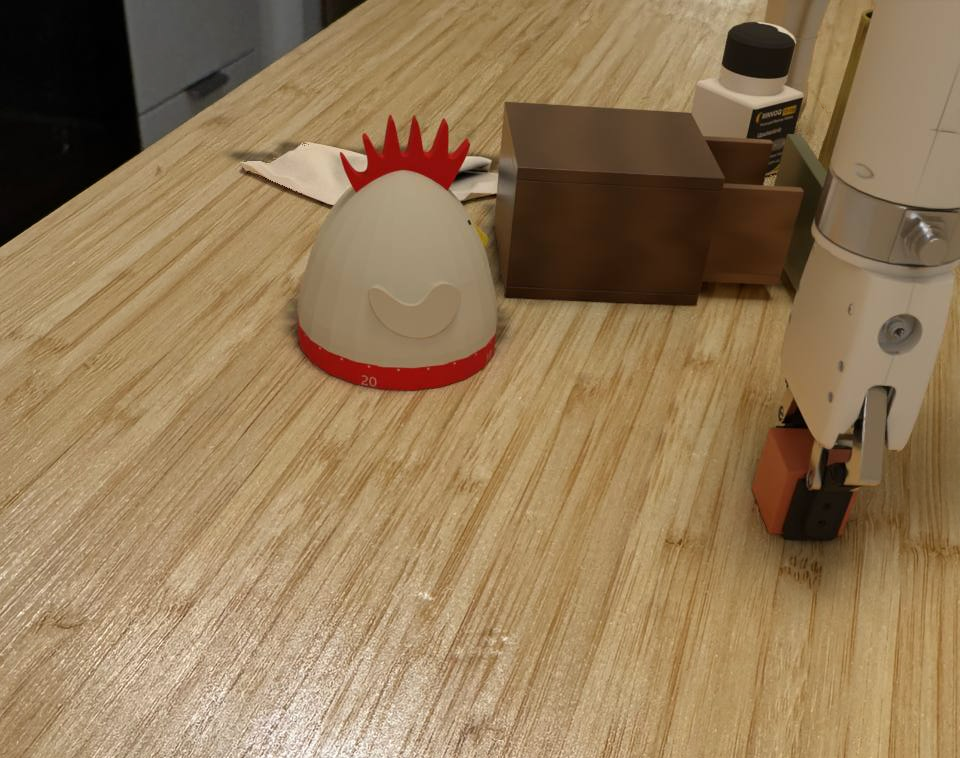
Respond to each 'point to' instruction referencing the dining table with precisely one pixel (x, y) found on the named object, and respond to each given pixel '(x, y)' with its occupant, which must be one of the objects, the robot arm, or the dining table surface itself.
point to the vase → (844, 91)
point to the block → (787, 473)
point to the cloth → (327, 181)
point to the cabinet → (604, 204)
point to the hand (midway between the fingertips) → (797, 506)
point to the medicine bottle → (751, 89)
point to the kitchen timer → (399, 273)
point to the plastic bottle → (799, 36)
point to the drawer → (763, 211)
